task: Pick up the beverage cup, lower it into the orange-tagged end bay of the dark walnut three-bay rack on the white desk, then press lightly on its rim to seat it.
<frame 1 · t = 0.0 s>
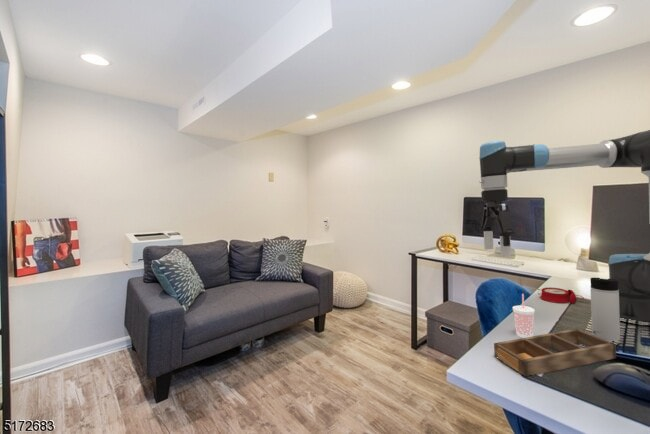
hand: (496, 252, 98), 28 cm above the table, fingers open, 13 cm apart
walnut rack: (553, 357, 83), on the table
travel mug: (605, 342, 90), on the table
alarm clock: (560, 300, 125), on the table
beverage cup: (524, 335, 97), on the table
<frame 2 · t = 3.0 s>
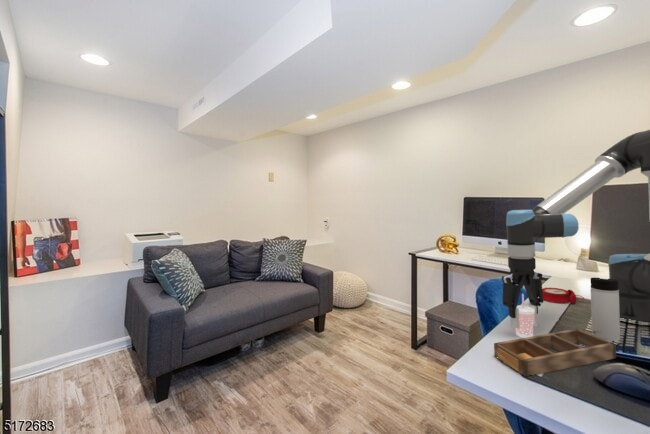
hand: (524, 325, 97), 3 cm above the table, fingers closed on beverage cup, 6 cm apart
beverage cup: (524, 335, 97), on the table, touching gripper
everything else where it was.
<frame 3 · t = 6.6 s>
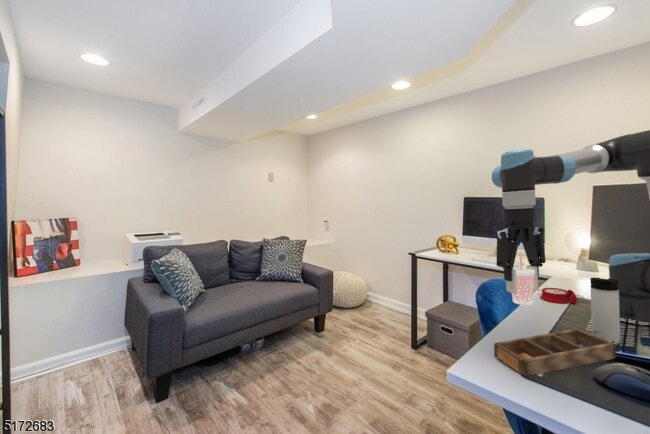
hand: (522, 290, 80), 21 cm above the table, fingers closed on beverage cup, 6 cm apart
beverage cup: (522, 302, 81), point 17 cm above the table, touching gripper
everything else where it was.
when the fingers open (5 cm above the table, at t = 10.4 s): beverage cup drops 2 cm, resting on walnut rack.
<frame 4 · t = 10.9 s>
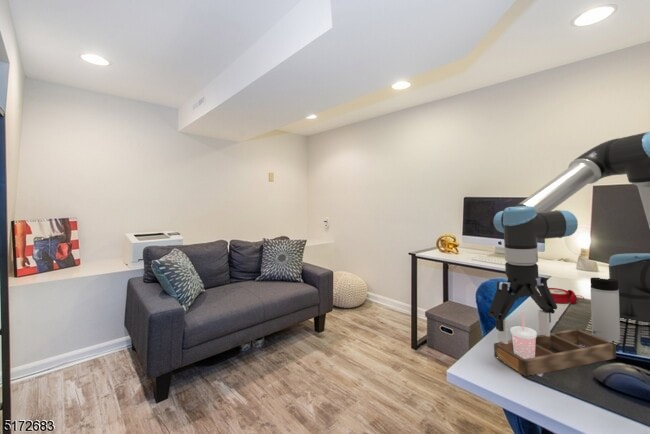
hand: (524, 338, 81), 7 cm above the table, fingers open, 13 cm apart
beverage cup: (524, 362, 81), resting on walnut rack
everything else where it was.
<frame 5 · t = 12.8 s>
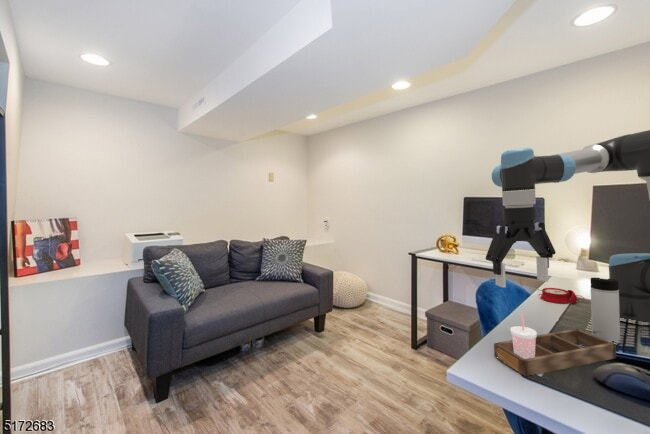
hand: (522, 283, 80), 23 cm above the table, fingers open, 13 cm apart
nothing on the table moved.
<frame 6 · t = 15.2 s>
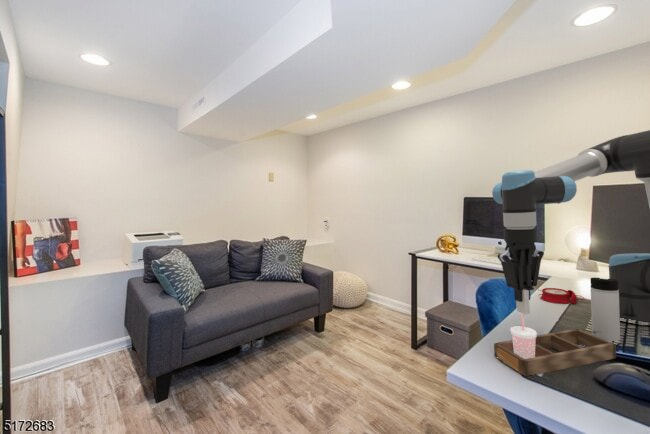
hand: (523, 312, 81), 14 cm above the table, fingers closed
beverage cup: (524, 362, 81), resting on walnut rack, touching gripper
everything else where it was.
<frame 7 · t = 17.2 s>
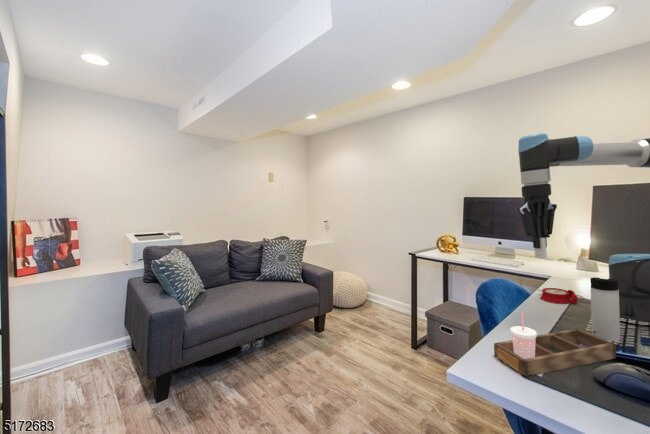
hand: (540, 257, 93), 26 cm above the table, fingers closed
beverage cup: (524, 362, 81), resting on walnut rack
everything else where it was.
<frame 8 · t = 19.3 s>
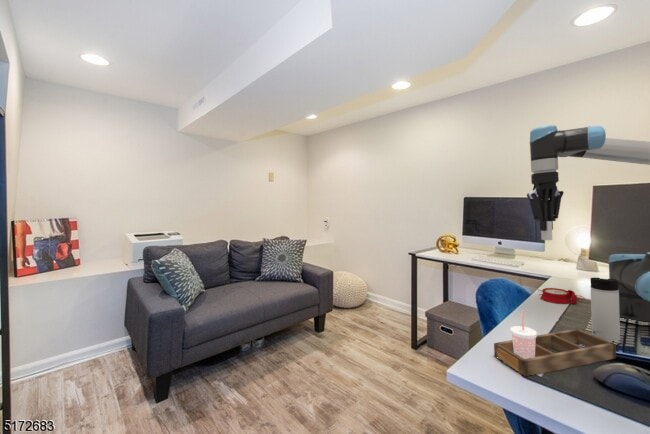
hand: (546, 239, 102), 30 cm above the table, fingers closed
nothing on the table moved.
at the end: beverage cup 0.2 cm from the target spot on the walnut rack, point 0.0 cm above the walnut rack's base; beverage cup tilted 0°; the gripper is holding nothing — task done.
